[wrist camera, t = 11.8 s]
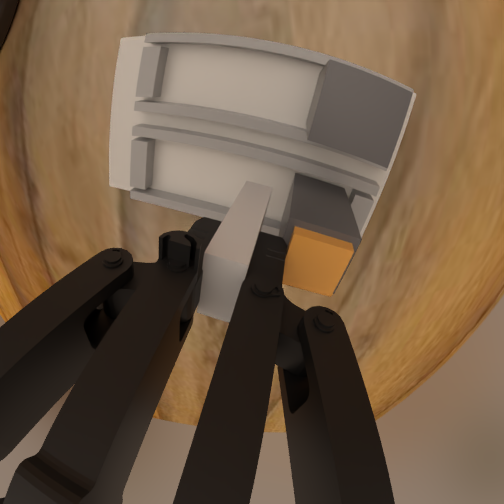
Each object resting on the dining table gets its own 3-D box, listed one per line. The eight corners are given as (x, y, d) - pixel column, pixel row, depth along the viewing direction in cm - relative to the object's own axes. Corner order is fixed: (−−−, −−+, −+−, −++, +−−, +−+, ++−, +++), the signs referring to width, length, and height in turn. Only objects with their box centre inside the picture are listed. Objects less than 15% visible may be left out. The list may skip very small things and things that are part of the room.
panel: (123, 177, 19) (55, 225, 13) (137, 40, 13) (53, 33, 6) (350, 236, 19) (367, 319, 12) (404, 92, 12) (472, 101, 6)
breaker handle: (281, 217, 17) (268, 285, 11) (295, 172, 15) (288, 224, 10) (327, 231, 17) (334, 303, 11) (344, 188, 15) (364, 247, 10)
